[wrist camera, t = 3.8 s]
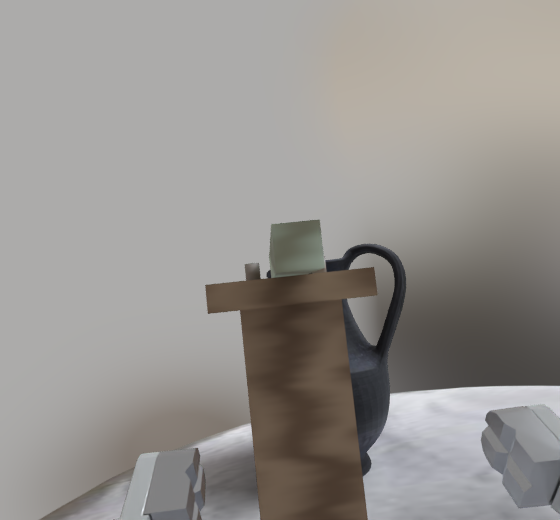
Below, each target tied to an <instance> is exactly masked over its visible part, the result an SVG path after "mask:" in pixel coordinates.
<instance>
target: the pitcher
mask: <svg viewBox="0 0 560 520" xmlns="http://www.w3.org/2000/svg"><path fill="white" fill-rule="evenodd" d="M365 253H373V254H376V255H379V256H381V257H383V258H385V259H386V260H387V261H388V262H389V263H390V264H391V266H392V268H393V272H394V278H395V288H394V293H393V297H392V301H391V304H390V307H389V310H388V314H387V317H386V320H385V323H384V326H383V330H382V333H381V336H380V338H379V341H378V344H377V345H376V346H373V345H371V344H370V343H368V341H367V340H366V339H365V338H364V336H363V334H362V332H361V331H360V329H359V327H358V325H357V324H356V322H355V320H354V318H353V315H352V313H351V310H350V308H349V305H348V302H347V299H342V308H343V316H344V325H345V333H346V342H347V350H348V358H349V367H350V375H351V384H352V392H353V400H354V409H355V417H356V426H357V434H358V443H359V451H360V459H361V468H362V476H364V475H365V474H366V473H367V472H368V471H369V470H370V468H371V460H370V457H369V456H368V454H367V453H366V452H367V451H368V450H369V449H370V447H371V446H372V445H373V444H374V443H375V441H376V440H377V438H378V437H379V436H380V434H381V432H382V430H383V428H384V426H385V423H386V420H387V415H388V410H389V403H390V385H389V384H390V383H389V374H388V365H387V359H388V351H389V348H390V345H391V342H392V339H393V336H394V333H395V330H396V327H397V324H398V320H399V317H400V314H401V311H402V307H403V303H404V298H405V292H406V276H405V270H404V268H403V265H402V263H401V261H400V259H399V258H398V256H397V255H396V254H395V253H394V252H392V251H391V250H390V249H387V248H386V247H383V246H381V245H377V244H361V245H357V246H354V247H352V248H350V249H349V250H348V251H347V252H346V253H345V254H344V256H343V257H342V258H340V259H334V260H325V263H326V271H327V272H333V271H343V270H349V267H350V264H351V263H352V262H353V260H354V259H355V258H356V257H358V256H359V255H362V254H365ZM309 274H312V273H309ZM267 277H268V278H271V270H269V271H268V272H267Z"/></svg>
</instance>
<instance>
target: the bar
mask: <svg viewBox="0 0 560 520" xmlns="http://www.w3.org/2000/svg"><path fill="white" fill-rule="evenodd" d="M269 259H270V269H271V278H277V277H286V276H296V275H305V274H309V273H312V272H315V271H318V270H320V269H323V268H325V263H324V255H323V246H322V238H321V228H320V220H310V221H302V222H301V221H300V222H291V223H280V224H272V225H271V238H270V254H269Z"/></svg>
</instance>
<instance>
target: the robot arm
mask: <svg viewBox="0 0 560 520" xmlns="http://www.w3.org/2000/svg"><path fill="white" fill-rule="evenodd" d="M485 421H486V422H487V424H488V425H489V426H488V427H487V428H486V429H485V430H484V431H483V432H482V437H481V443H482V448H483V452H484V454H485V456H486V458H487V460H488V462H489V463H490V465H491V467H492V468H494V469H495V470H497V471H498V472H500V473H501V474H503V480H502V484H503V485H504V487H505V488H506V490H507V491H508V493H509V494H510V496H511V497H512V499H513V500H514V502H515V504H516V505H517V507H518V508H528V507H538V506H547V505H551V508H553V509H554V510H555V511H556V512H558V513H559V514H560V418H559V417H558V416H557V415H556V414H555V413H554V412H553V411H552V410H551V409H550V408H549V407H547V406H546V405H544V404H540V405H532V406H525V407H523V406H521V407H514V408H507V409H500V410H493V411H489V412H488V413H487V415H486V419H485ZM199 462H200V454H199V450H198V448H193V449H182V450H172V451H162V452H153V453H145V454H141V455H140V456H139V458H138V460H137V462H136V465H135V469H134V472H133V475H132V479H131V482H130V486H129V489H128V492H127V496H126V499H125V503H124V506H123V509H122V513H121V516H120V518H118V519H114V520H202V519H201V516H200V511H201V509H202V508H203V506H204V503H205V474H204V469H203V467H202V466H201V465H199Z"/></svg>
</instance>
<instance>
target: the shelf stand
mask: <svg viewBox="0 0 560 520" xmlns="http://www.w3.org/2000/svg"><path fill="white" fill-rule="evenodd" d="M324 263H325V256H324ZM245 272H246V281H239V282H230V283H221V284H211V285H205V286H206V297H207V307H208V314H210V313H218V312H228V311H238V310H240V314H241V324H242V334H243V344H244V355H245V365H246V375H247V386H248V396H249V406H250V416H251V427H252V437H253V447H254V457H255V467H256V478H257V488H258V498H259V508H260V519H261V520H368V518H367V510H366V502H365V493H364V485H363V476H362V468H361V459H360V451H359V443H358V434H357V426H356V417H355V409H354V400H353V392H352V384H351V375H350V367H349V358H348V350H347V342H346V333H345V325H344V316H343V308H342V299H347V298H356V297H366V296H374V295H377V287H376V280H375V271H374V267H371V268H362V269H352V270H343V271H333V272H327V271H326V263H325V268H323V269H320V270H318V271H315V272H312V274H305V275H296V276H286V277H277V278H267V279H261V278H260V269H259V263H251V264H245Z"/></svg>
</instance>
